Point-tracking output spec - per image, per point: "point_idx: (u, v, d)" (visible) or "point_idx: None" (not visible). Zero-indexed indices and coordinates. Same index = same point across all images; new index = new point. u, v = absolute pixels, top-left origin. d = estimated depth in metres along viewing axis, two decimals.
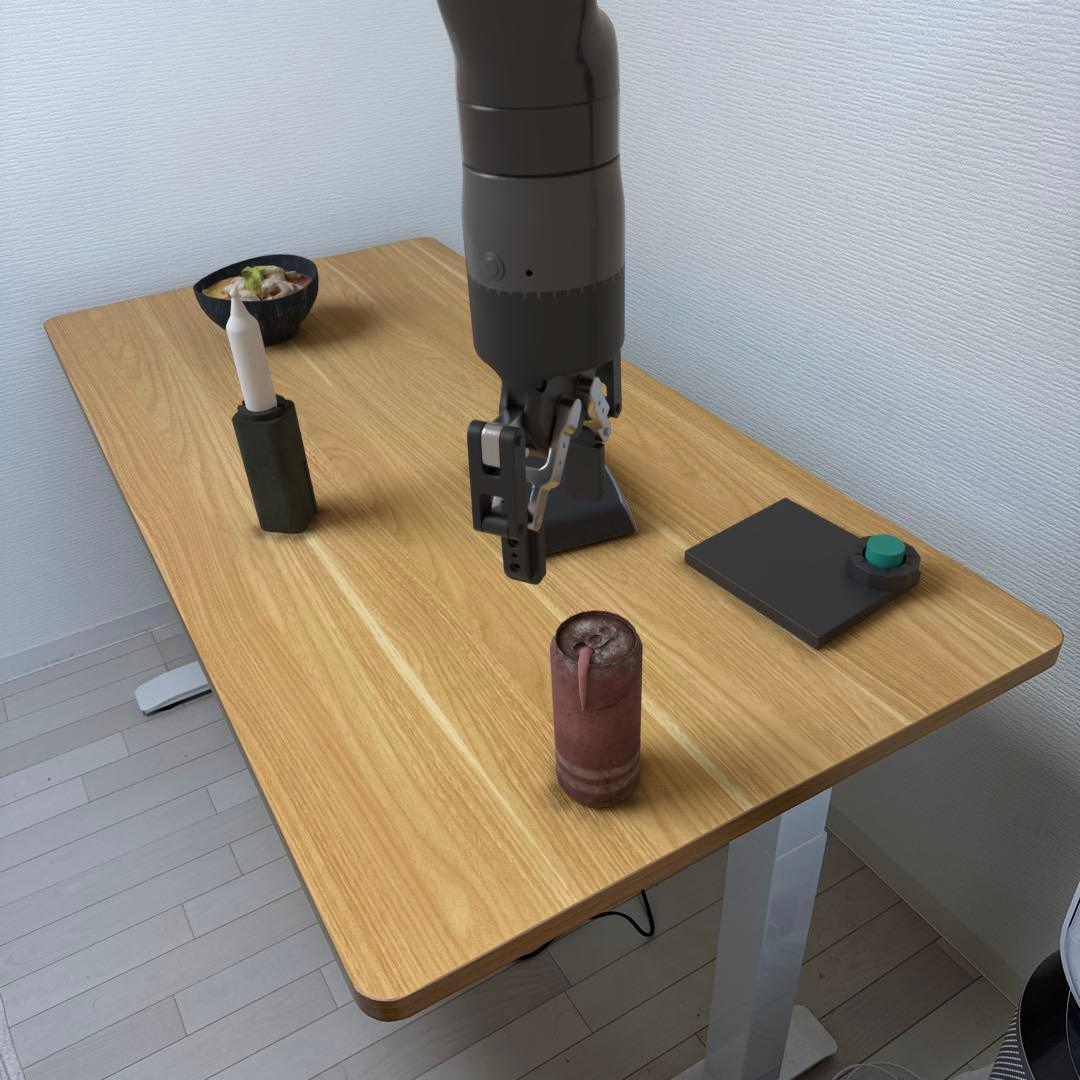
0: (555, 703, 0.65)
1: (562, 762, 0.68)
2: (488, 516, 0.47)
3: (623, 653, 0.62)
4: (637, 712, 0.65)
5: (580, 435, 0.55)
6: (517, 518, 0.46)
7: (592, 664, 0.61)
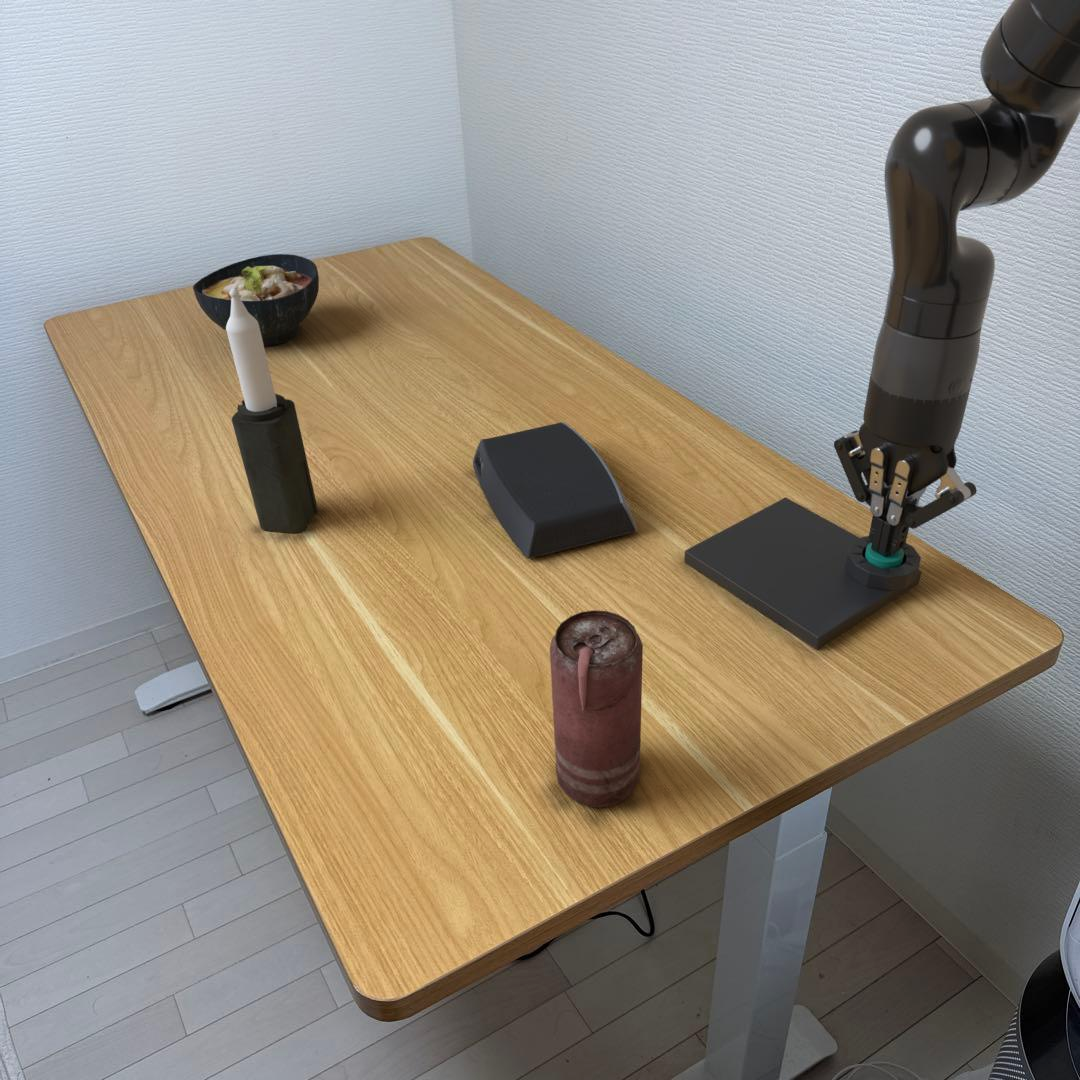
0: (555, 703, 0.65)
1: (562, 762, 0.68)
2: None
3: (623, 653, 0.62)
4: (637, 712, 0.65)
5: None
6: None
7: (592, 664, 0.61)
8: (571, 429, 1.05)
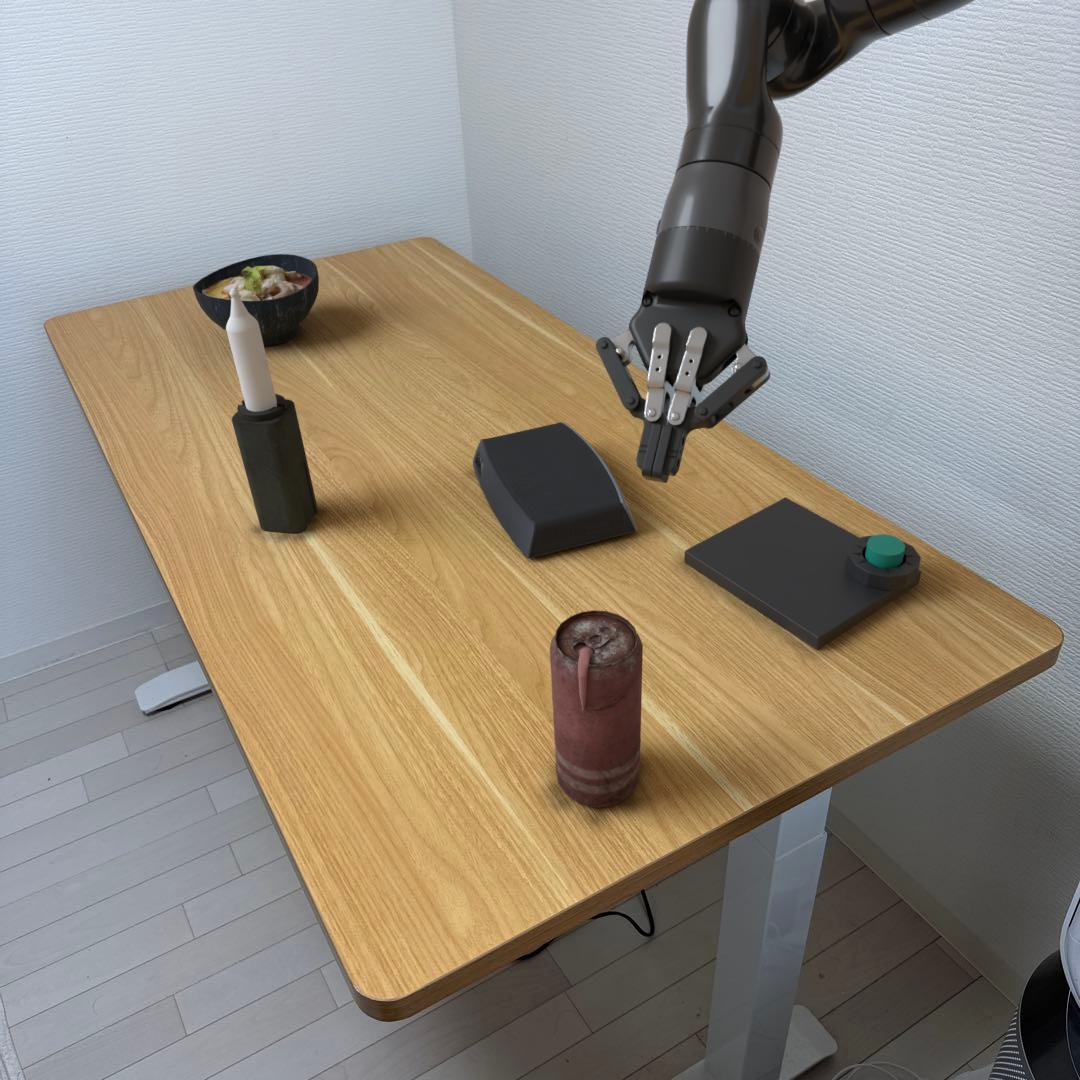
0: (555, 703, 0.65)
1: (562, 762, 0.68)
2: None
3: (623, 653, 0.62)
4: (637, 712, 0.65)
5: (664, 419, 0.68)
6: None
7: (592, 664, 0.61)
8: (571, 429, 1.05)
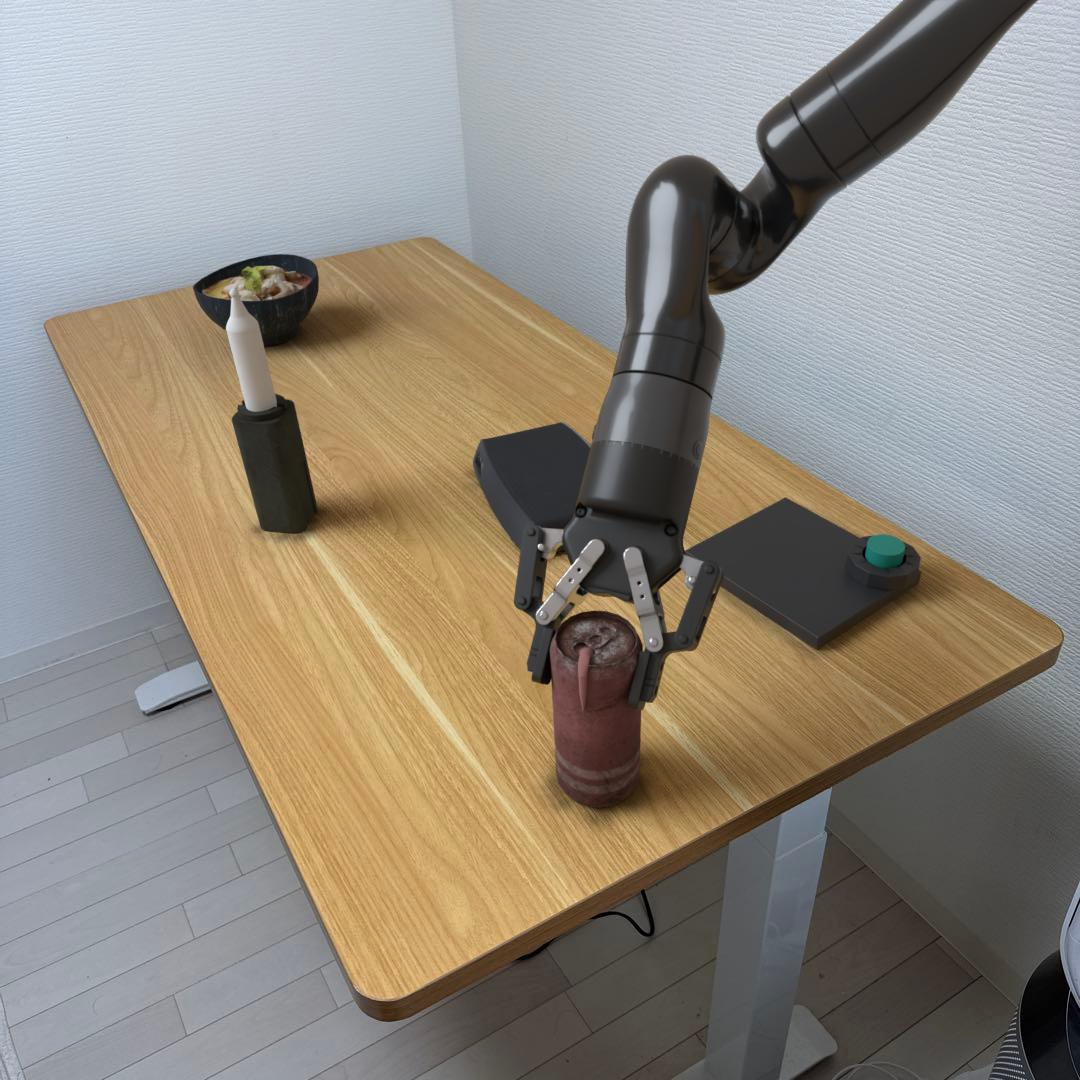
0: (555, 703, 0.65)
1: (562, 762, 0.68)
2: None
3: (623, 653, 0.62)
4: (637, 712, 0.65)
5: (557, 621, 0.65)
6: None
7: (592, 664, 0.61)
8: (571, 429, 1.05)
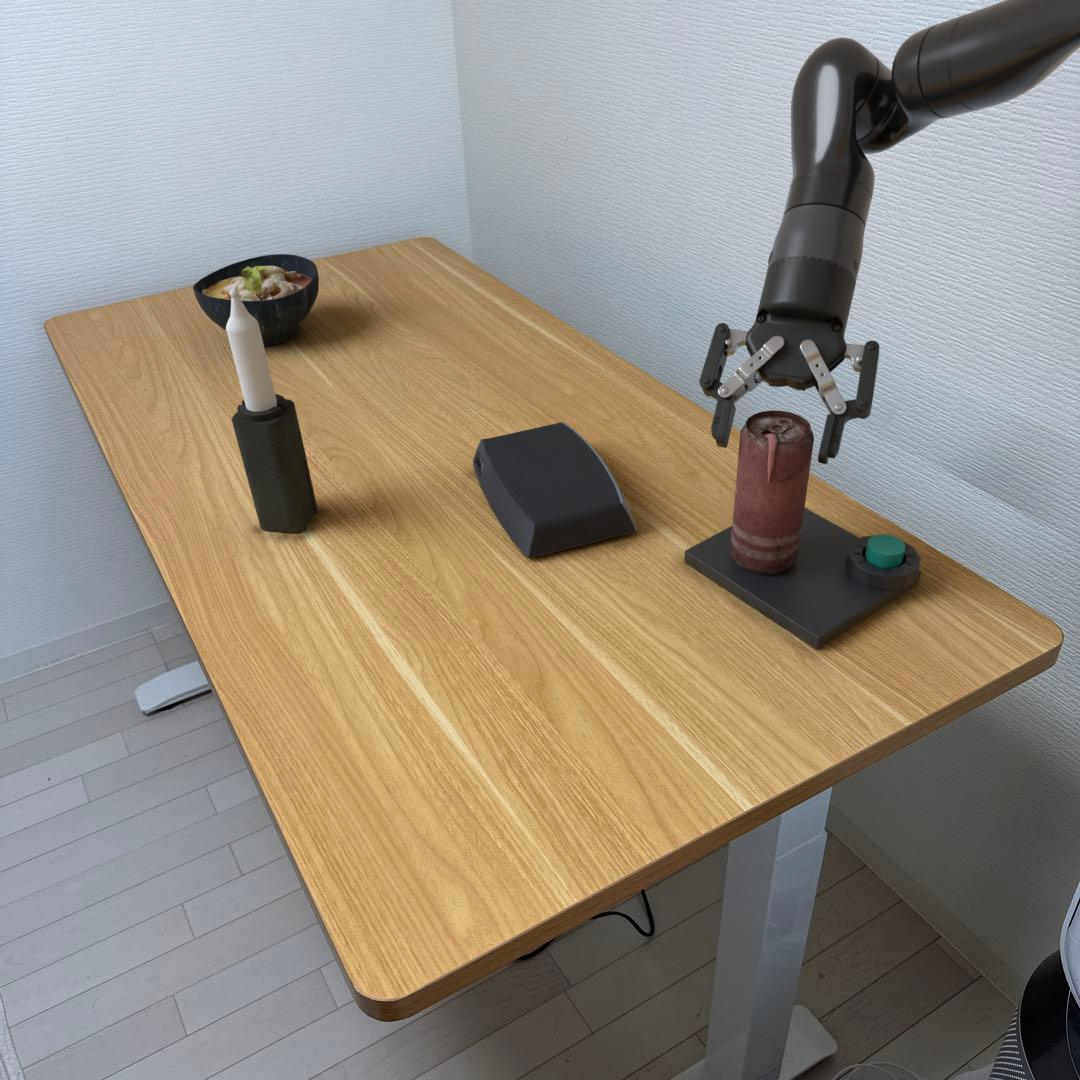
0: (741, 482, 0.83)
1: (741, 535, 0.86)
2: None
3: (800, 436, 0.80)
4: (805, 489, 0.83)
5: (733, 397, 0.83)
6: None
7: (779, 442, 0.79)
8: (571, 429, 1.05)
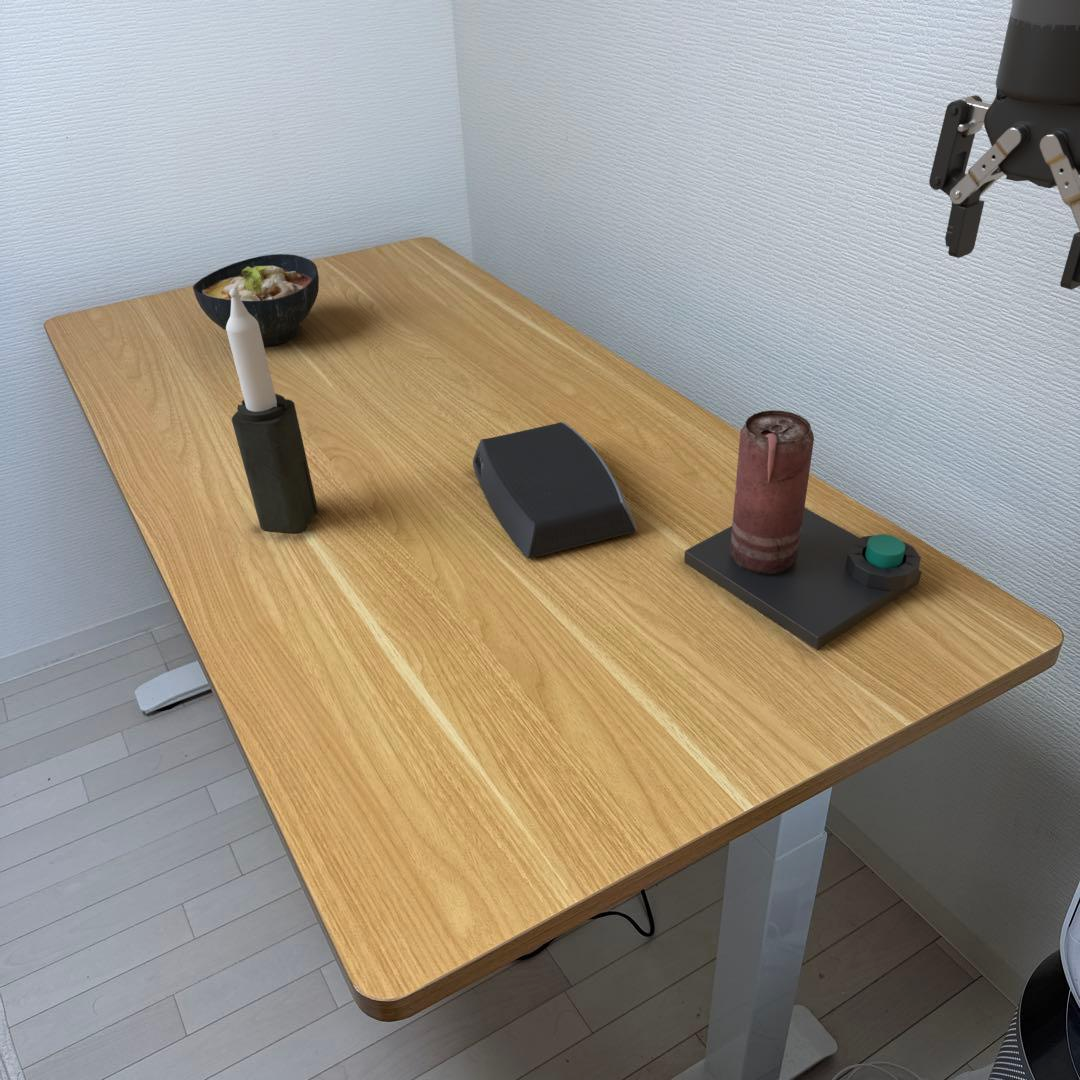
0: (741, 482, 0.83)
1: (741, 535, 0.86)
2: None
3: (800, 435, 0.80)
4: (805, 489, 0.83)
5: (973, 196, 0.68)
6: None
7: None
8: (571, 429, 1.05)
